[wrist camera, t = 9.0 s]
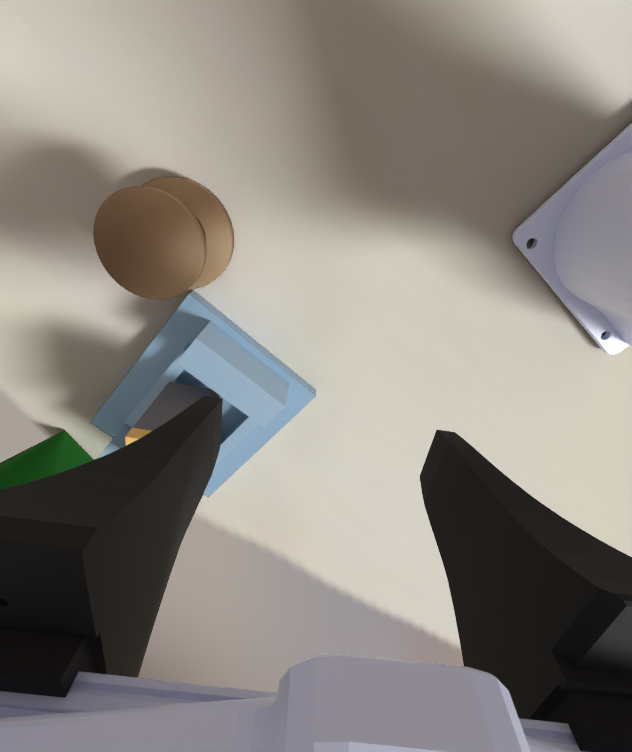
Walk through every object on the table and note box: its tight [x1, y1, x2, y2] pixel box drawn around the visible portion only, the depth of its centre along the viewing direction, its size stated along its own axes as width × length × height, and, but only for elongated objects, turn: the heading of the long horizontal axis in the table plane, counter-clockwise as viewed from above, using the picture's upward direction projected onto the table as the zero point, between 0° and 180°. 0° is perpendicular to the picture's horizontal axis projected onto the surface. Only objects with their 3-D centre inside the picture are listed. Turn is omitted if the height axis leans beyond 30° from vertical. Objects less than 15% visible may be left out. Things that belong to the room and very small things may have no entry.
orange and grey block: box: [125, 382, 222, 445], centre depth 20 cm, size 3×4×5 cm
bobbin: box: [94, 177, 234, 300], centre depth 17 cm, size 5×5×4 cm
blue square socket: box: [90, 290, 316, 497], centre depth 22 cm, size 9×11×3 cm
